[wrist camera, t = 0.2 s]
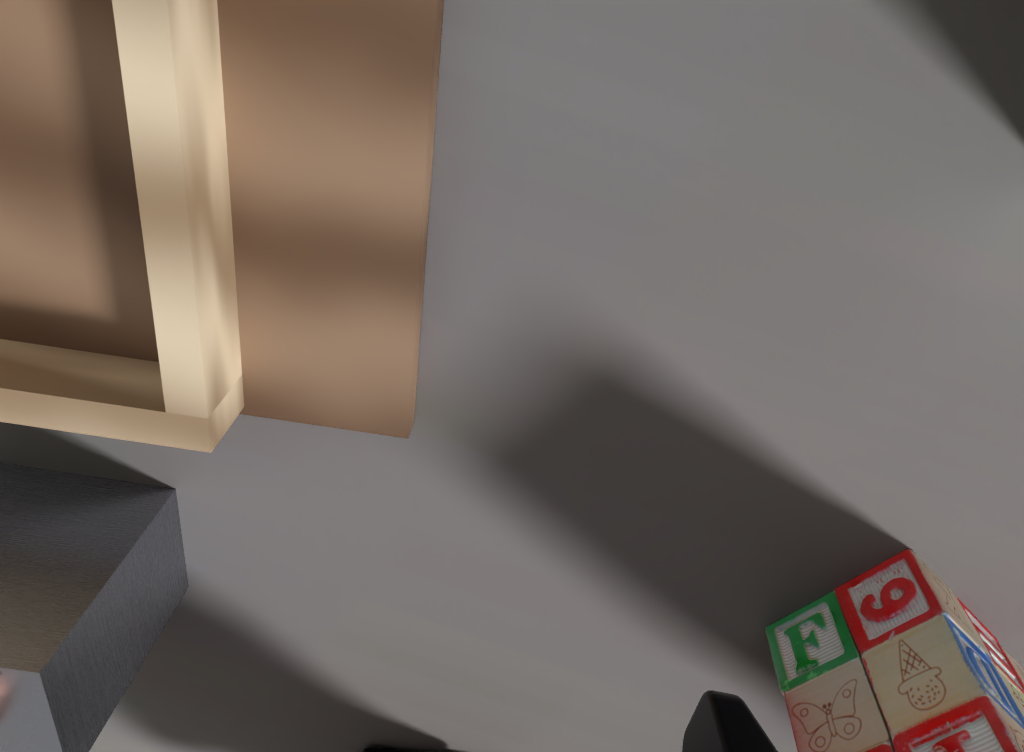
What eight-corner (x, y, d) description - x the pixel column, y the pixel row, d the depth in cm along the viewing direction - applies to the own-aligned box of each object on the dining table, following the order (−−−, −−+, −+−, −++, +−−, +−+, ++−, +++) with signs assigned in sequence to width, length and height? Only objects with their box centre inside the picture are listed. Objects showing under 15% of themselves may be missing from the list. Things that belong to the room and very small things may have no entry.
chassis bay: (414, 421, 25) (391, 487, 22) (-240, 325, 25) (-353, 378, 22) (448, -64, 18) (421, -66, 15) (-464, -197, 18) (-675, -225, 15)
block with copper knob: (188, 586, 30) (51, 814, 22) (14, 560, 30) (-185, 778, 22) (176, 488, 27) (15, 705, 19) (-15, 460, 27) (-251, 666, 20)
